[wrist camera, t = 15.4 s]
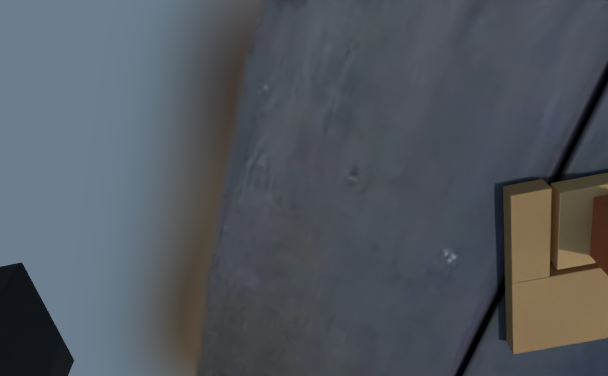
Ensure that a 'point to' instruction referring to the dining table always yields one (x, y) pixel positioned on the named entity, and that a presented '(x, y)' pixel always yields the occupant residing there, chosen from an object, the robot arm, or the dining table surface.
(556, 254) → the open box
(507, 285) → the base pad
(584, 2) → the dining table surface
